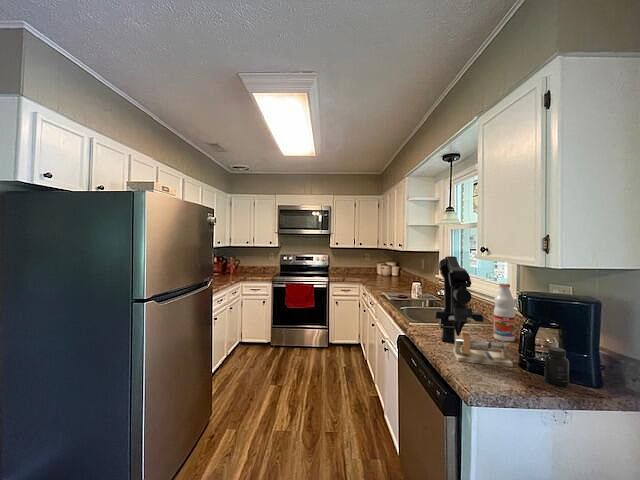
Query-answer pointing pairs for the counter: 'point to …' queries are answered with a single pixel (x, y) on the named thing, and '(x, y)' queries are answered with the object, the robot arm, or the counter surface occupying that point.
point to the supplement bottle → (556, 367)
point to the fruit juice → (504, 314)
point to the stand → (483, 356)
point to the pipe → (484, 344)
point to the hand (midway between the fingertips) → (457, 335)
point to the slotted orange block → (465, 342)
